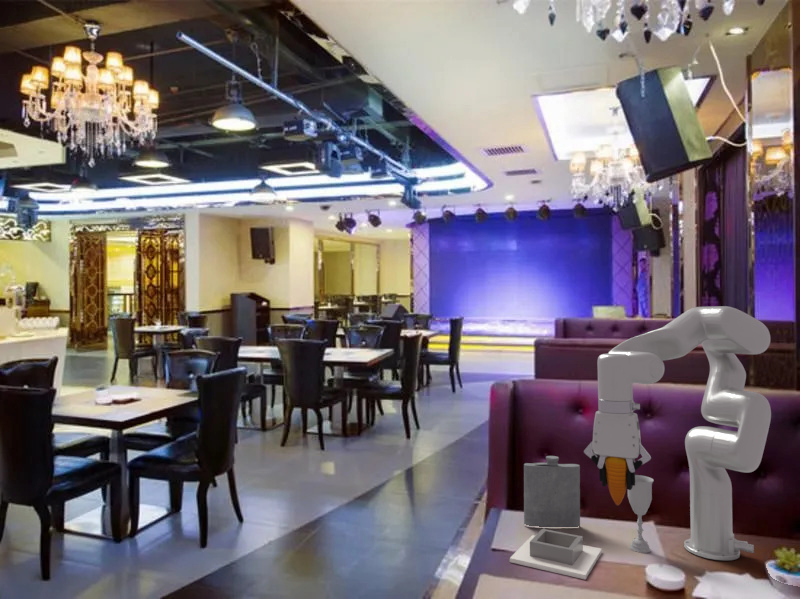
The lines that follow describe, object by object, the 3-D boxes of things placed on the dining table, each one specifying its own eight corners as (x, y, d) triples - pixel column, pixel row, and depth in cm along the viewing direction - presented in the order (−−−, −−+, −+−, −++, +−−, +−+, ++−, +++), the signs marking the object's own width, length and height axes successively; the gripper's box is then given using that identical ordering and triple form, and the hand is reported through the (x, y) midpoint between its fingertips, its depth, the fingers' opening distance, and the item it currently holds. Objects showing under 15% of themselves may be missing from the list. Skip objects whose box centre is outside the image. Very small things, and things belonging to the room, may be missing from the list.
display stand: (601, 552, 145) (601, 534, 145) (585, 579, 129) (585, 559, 130) (532, 538, 154) (532, 521, 154) (509, 562, 139) (509, 543, 139)
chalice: (657, 555, 143) (656, 483, 144) (628, 553, 145) (628, 481, 145) (650, 544, 150) (650, 475, 151) (623, 542, 152) (623, 474, 153)
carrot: (629, 509, 128) (628, 442, 128) (606, 507, 129) (605, 441, 130) (628, 503, 132) (627, 438, 133) (606, 501, 134) (604, 436, 134)
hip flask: (578, 524, 165) (577, 455, 166) (582, 529, 161) (581, 458, 162) (523, 523, 166) (523, 454, 166) (525, 528, 162) (525, 457, 162)
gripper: (657, 407, 130) (659, 487, 130) (581, 402, 139) (583, 477, 138) (653, 412, 124) (655, 496, 123) (574, 406, 133) (575, 485, 132)
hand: (617, 485), depth 131 cm, fingers closed on carrot, 4 cm apart
